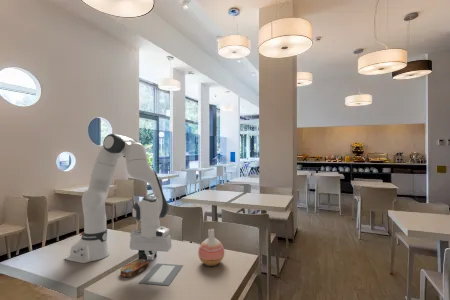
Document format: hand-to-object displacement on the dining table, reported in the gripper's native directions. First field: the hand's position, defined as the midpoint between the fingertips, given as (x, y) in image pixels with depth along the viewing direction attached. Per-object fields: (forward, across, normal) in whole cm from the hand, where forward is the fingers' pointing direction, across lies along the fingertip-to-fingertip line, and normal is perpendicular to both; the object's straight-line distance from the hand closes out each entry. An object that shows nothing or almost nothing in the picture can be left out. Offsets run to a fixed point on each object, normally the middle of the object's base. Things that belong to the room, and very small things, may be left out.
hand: (150, 259), depth 118 cm
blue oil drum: (+7, -10, +17) cm, 21 cm away
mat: (+7, +6, 0) cm, 9 cm away
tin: (+6, -5, 0) cm, 7 cm away
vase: (+7, +27, +14) cm, 31 cm away
